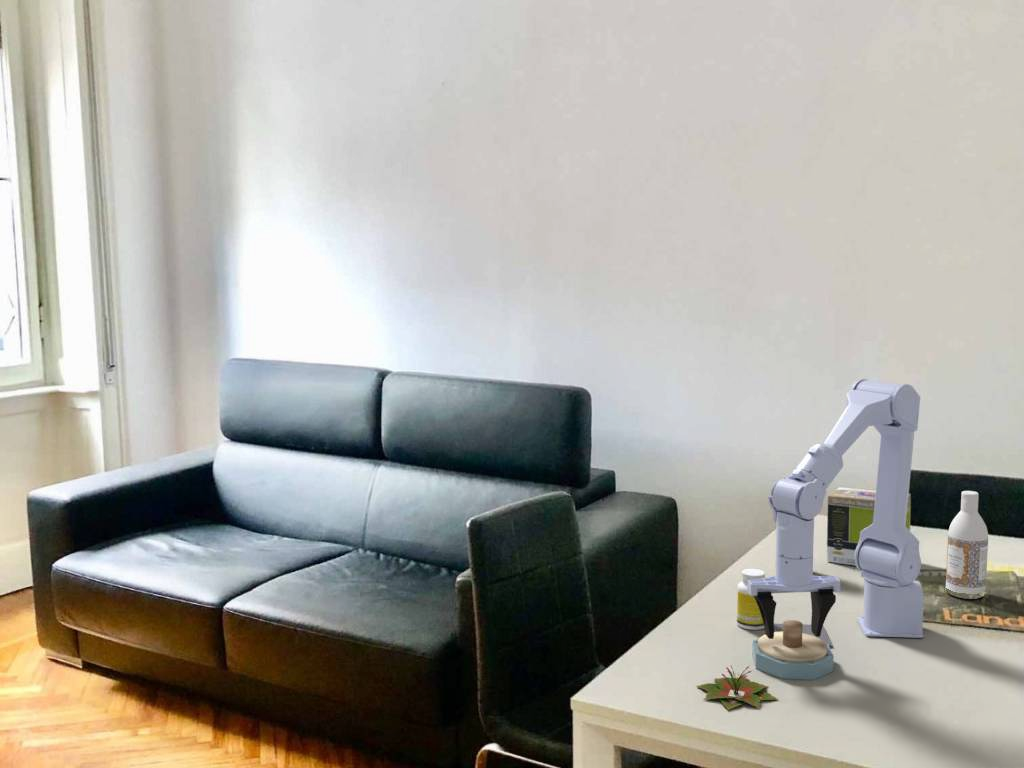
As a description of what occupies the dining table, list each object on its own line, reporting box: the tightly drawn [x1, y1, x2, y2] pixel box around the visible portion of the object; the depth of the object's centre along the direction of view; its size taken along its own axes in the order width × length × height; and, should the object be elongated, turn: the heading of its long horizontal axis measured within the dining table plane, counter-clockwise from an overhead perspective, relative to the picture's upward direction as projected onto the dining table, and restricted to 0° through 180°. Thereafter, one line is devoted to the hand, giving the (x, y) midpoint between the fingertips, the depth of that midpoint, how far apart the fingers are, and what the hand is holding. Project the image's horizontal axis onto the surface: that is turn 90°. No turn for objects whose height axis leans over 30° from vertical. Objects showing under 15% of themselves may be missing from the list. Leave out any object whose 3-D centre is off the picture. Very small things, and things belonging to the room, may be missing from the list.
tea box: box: [826, 486, 912, 567], centre depth 212 cm, size 15×10×15 cm, turn 58°
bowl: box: [752, 638, 835, 681], centre depth 163 cm, size 12×12×2 cm
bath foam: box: [945, 490, 989, 594], centre depth 191 cm, size 7×7×20 cm
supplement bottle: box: [736, 568, 766, 631], centre depth 179 cm, size 5×5×10 cm
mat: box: [774, 622, 833, 649], centre depth 174 cm, size 9×9×1 cm
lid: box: [758, 619, 827, 662], centre depth 163 cm, size 11×11×4 cm
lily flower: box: [696, 665, 779, 711], centre depth 152 cm, size 12×12×5 cm
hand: (792, 635), depth 162 cm, fingers open, 7 cm apart
